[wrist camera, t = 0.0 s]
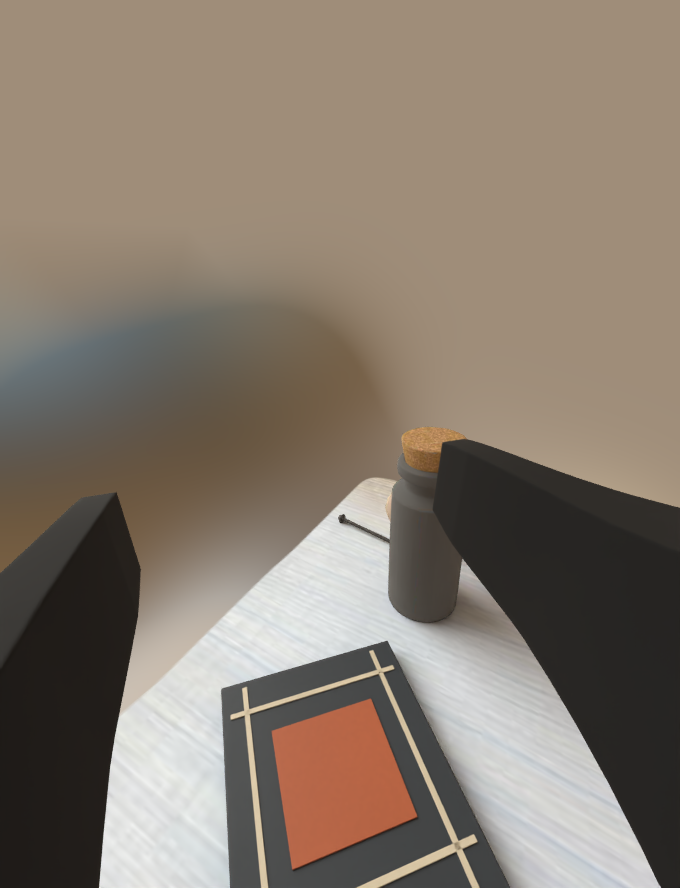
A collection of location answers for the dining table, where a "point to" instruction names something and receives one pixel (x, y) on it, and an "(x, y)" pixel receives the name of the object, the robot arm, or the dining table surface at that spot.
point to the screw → (342, 518)
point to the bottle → (421, 533)
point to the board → (344, 783)
